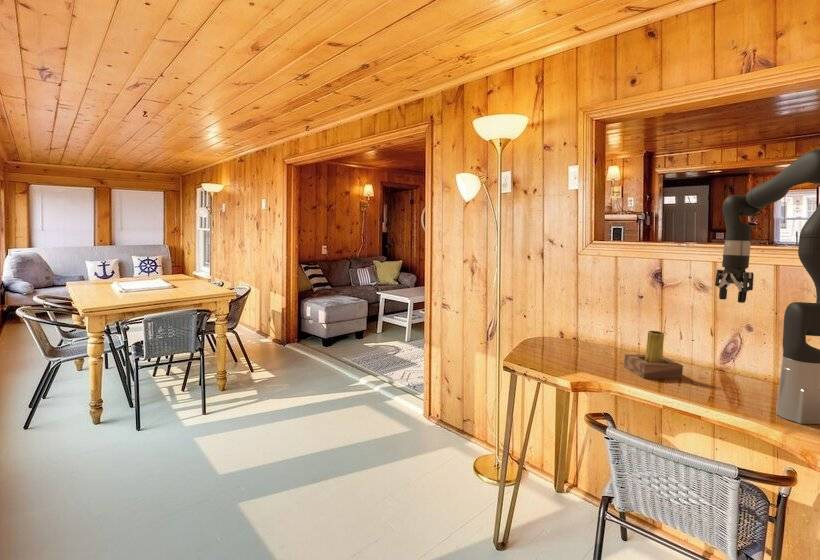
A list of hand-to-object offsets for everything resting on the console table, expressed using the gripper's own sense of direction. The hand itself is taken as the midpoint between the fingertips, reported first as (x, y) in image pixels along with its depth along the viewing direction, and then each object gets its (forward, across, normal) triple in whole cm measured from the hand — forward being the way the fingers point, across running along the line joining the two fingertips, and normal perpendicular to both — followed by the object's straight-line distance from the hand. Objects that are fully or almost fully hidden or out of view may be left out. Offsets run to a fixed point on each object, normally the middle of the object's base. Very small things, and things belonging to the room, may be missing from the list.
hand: (731, 300), depth 163 cm
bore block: (+29, +11, +20) cm, 37 cm away
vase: (+28, +10, +20) cm, 36 cm away
